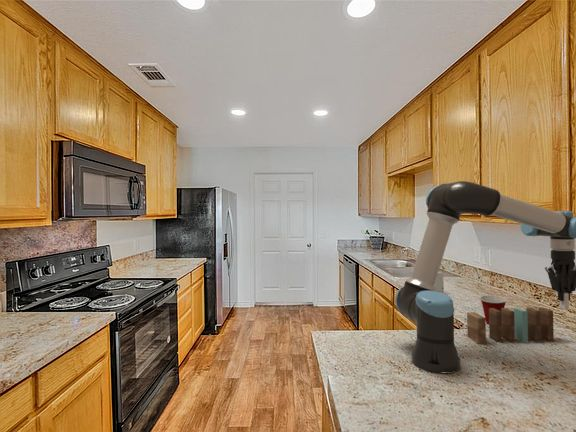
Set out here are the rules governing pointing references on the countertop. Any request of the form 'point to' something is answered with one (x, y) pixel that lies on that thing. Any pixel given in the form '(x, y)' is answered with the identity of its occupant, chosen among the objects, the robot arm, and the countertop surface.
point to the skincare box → (439, 282)
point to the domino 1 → (495, 325)
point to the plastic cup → (492, 304)
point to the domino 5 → (546, 324)
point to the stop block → (476, 327)
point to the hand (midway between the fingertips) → (564, 308)
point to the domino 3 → (521, 324)
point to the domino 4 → (533, 324)
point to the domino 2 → (508, 324)
